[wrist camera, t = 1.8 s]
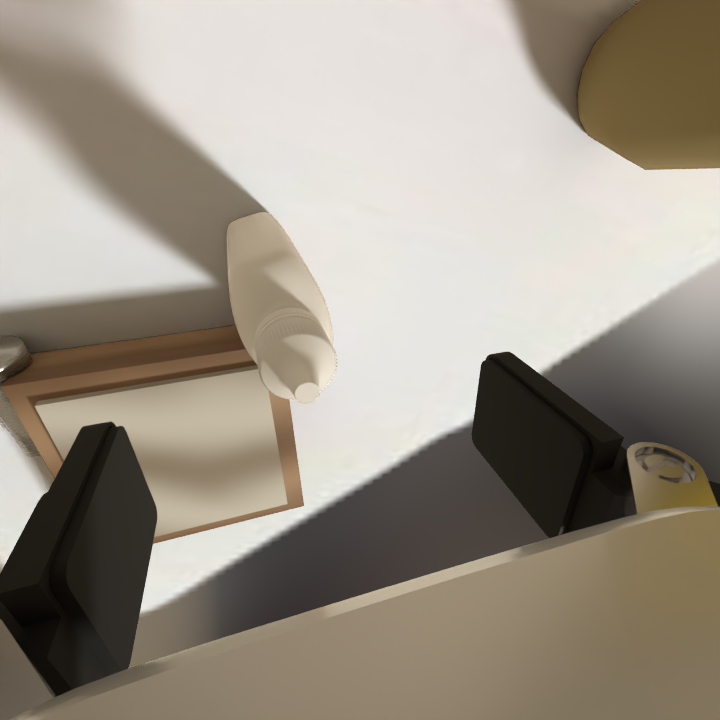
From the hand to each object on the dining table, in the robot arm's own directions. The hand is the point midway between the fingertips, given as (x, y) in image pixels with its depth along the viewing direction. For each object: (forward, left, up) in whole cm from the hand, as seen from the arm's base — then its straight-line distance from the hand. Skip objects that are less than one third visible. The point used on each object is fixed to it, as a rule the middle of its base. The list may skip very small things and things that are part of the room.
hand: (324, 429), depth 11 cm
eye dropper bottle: (-1, 0, -13) cm, 13 cm away
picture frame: (+8, -6, -13) cm, 17 cm away
